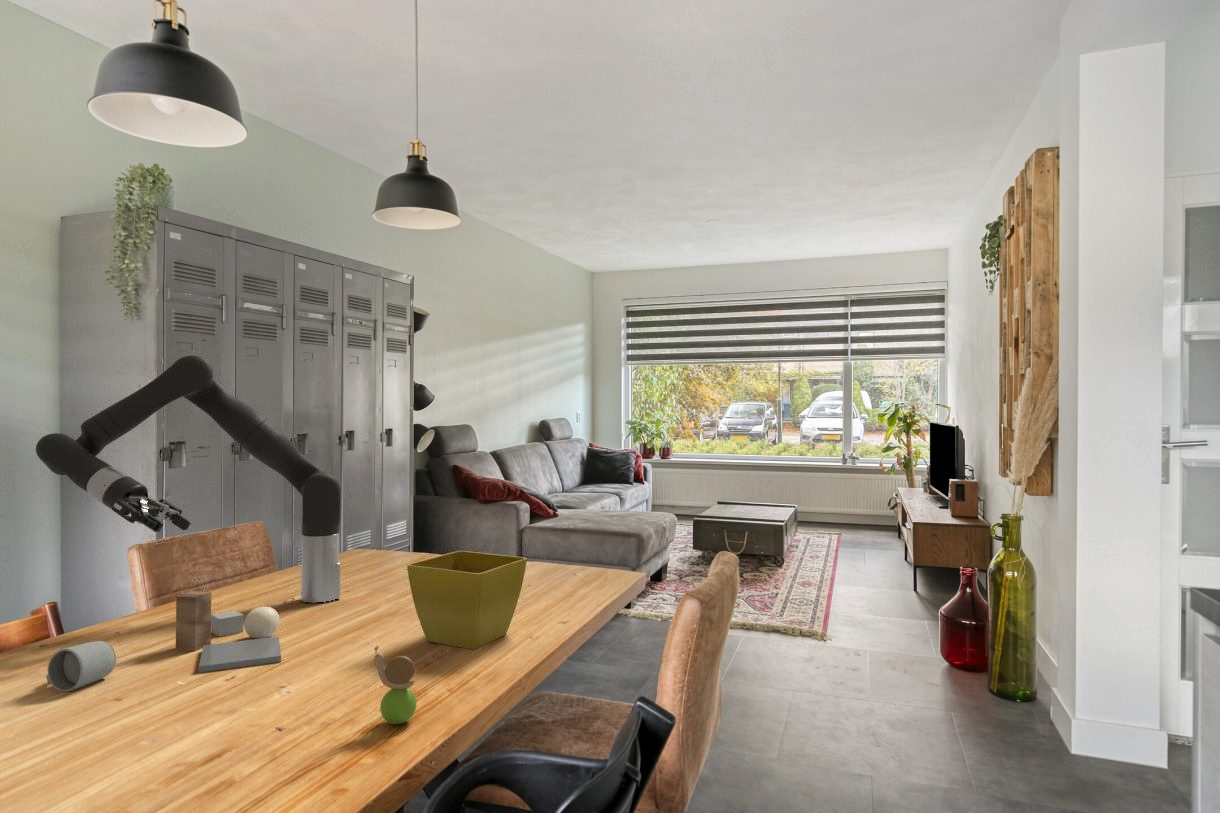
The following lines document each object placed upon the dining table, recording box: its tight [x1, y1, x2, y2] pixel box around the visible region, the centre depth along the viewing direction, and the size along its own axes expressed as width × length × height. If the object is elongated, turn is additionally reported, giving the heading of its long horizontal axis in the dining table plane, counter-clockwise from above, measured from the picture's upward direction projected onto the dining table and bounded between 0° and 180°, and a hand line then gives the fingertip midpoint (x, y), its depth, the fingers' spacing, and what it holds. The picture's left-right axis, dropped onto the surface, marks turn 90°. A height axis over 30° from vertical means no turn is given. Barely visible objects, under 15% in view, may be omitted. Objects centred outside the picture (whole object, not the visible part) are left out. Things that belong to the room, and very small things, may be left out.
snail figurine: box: [374, 645, 417, 725], centre depth 113 cm, size 5×6×12 cm
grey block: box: [211, 610, 245, 637], centre depth 161 cm, size 5×5×4 cm
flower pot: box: [406, 550, 527, 650], centre depth 157 cm, size 19×19×17 cm
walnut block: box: [175, 590, 212, 652], centre depth 150 cm, size 4×4×11 cm
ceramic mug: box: [46, 640, 117, 693], centre depth 130 cm, size 10×8×7 cm
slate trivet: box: [198, 636, 282, 674], centre depth 145 cm, size 14×14×1 cm
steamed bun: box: [243, 606, 281, 639], centre depth 157 cm, size 7×7×7 cm
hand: (174, 527), depth 157 cm, fingers open, 8 cm apart
